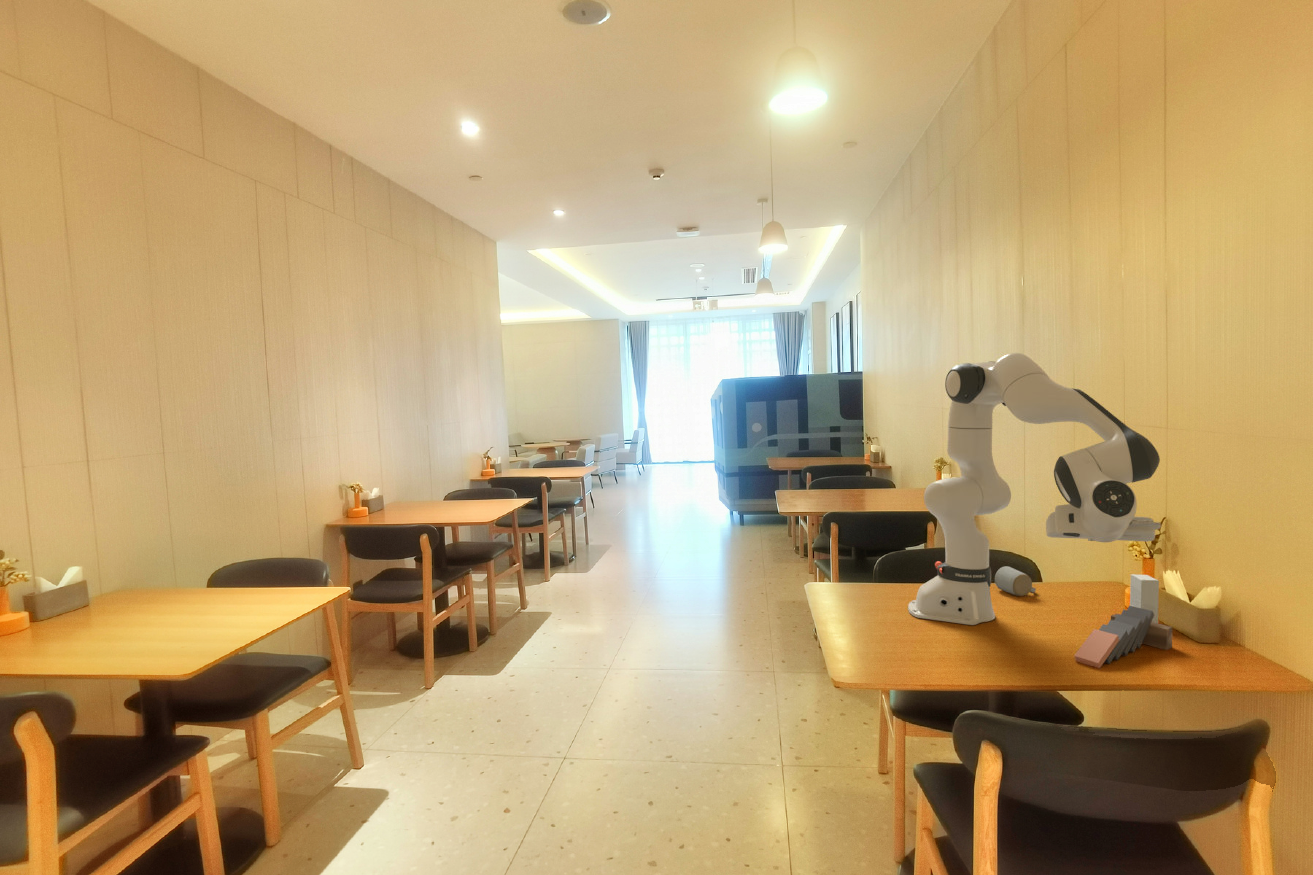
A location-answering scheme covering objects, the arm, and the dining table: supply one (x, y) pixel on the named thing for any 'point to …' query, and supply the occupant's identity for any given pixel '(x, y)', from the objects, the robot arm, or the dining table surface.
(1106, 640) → the domino
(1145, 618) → the domino
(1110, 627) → the domino
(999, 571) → the ceramic mug
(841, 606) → the dining table surface
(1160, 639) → the end stop
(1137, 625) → the domino
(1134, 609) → the domino
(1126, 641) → the domino
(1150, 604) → the skincare box
